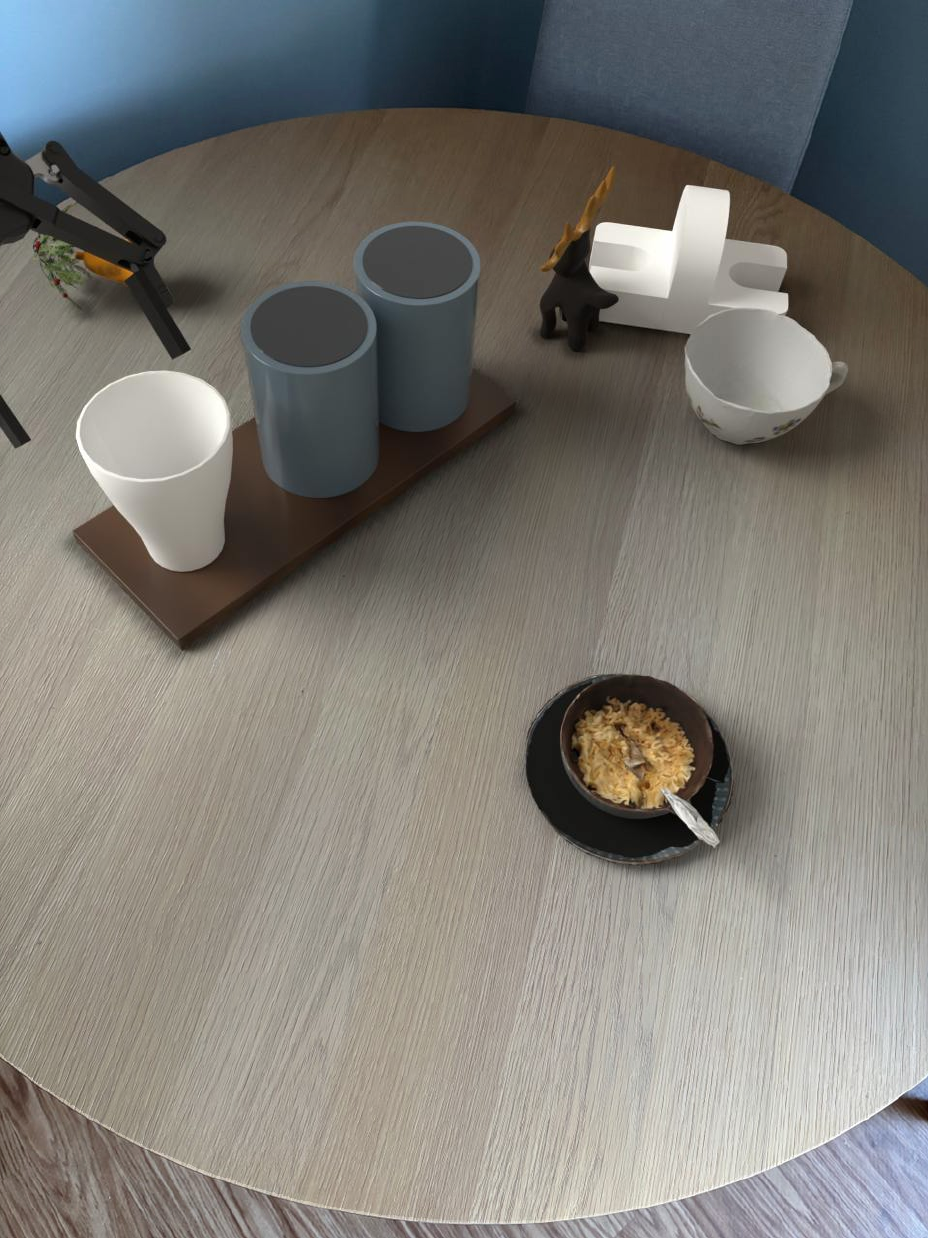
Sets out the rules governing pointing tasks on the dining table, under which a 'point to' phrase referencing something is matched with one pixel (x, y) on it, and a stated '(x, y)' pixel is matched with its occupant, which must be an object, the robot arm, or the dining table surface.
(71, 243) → the robot arm
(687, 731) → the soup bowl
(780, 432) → the teacup
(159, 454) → the cup
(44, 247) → the christmas decoration
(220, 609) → the walnut board
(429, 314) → the slate cup
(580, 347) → the figurine
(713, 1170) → the dining table surface
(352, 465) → the slate cup
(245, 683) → the dining table surface
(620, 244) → the bracket
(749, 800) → the dining table surface
